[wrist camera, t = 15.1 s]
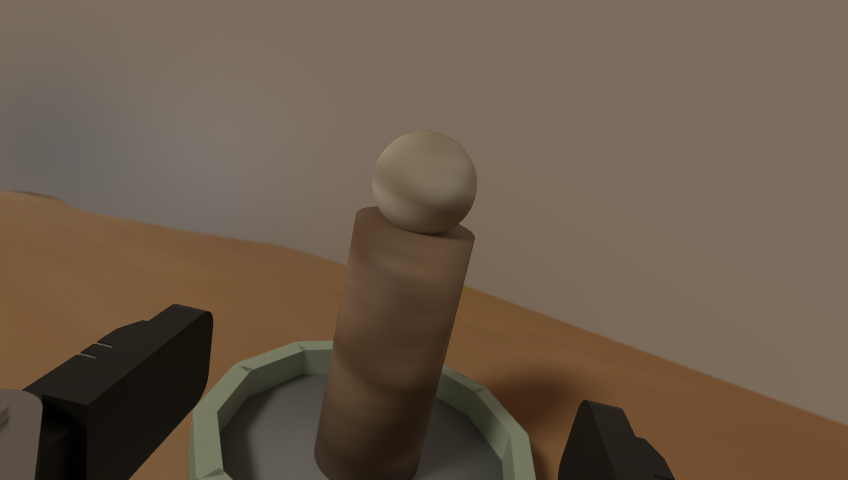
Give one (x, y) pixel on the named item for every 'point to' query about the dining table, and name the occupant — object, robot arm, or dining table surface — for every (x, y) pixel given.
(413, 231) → the wooden peg figure
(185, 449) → the dining table surface
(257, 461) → the round tray
